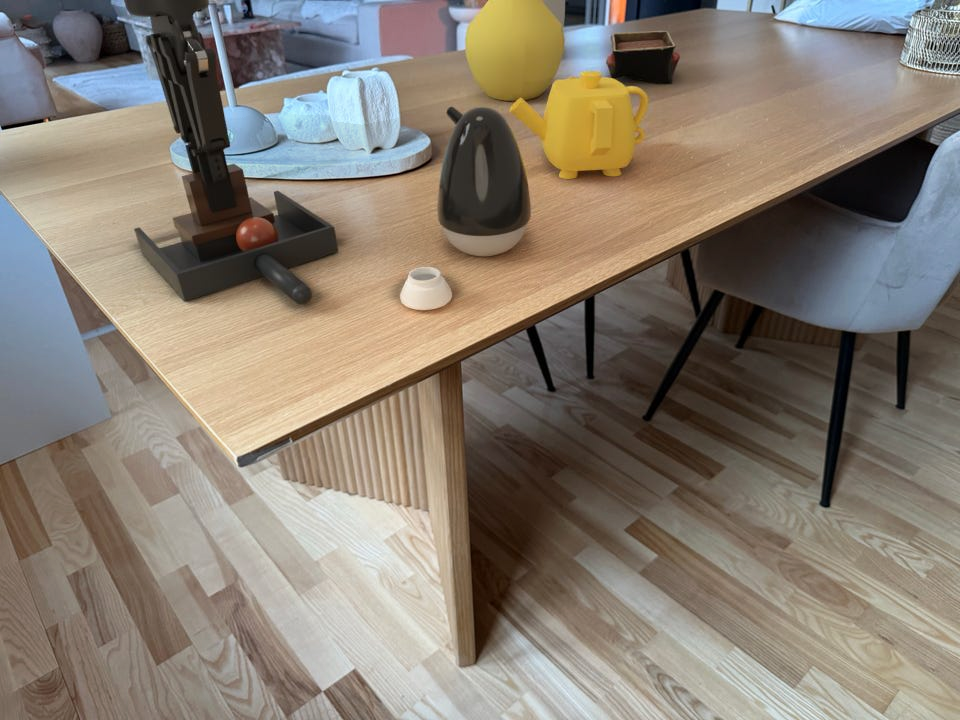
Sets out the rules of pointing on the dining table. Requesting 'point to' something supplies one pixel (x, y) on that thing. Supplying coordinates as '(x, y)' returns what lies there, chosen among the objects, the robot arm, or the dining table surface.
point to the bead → (255, 234)
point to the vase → (514, 48)
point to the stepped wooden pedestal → (216, 217)
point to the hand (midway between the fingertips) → (218, 204)
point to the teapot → (587, 124)
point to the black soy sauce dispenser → (483, 184)
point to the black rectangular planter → (643, 56)
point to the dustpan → (248, 257)
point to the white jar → (425, 289)
